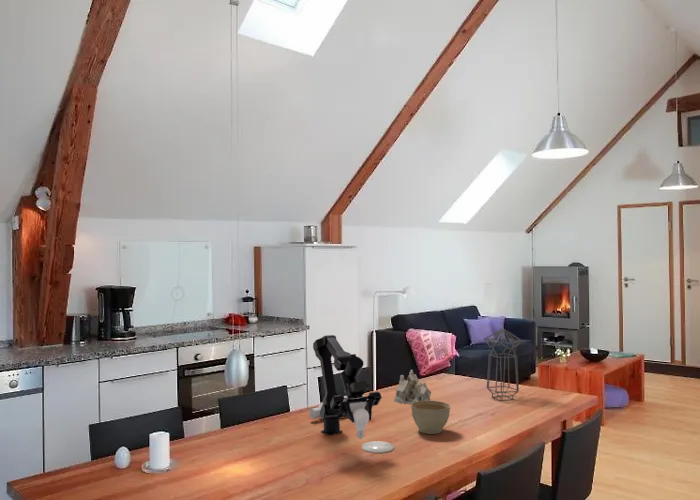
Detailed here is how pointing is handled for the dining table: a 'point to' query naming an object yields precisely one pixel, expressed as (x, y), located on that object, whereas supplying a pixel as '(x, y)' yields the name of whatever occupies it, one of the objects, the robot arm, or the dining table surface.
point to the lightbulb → (360, 421)
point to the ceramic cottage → (411, 390)
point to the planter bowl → (430, 415)
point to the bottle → (353, 406)
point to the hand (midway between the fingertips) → (361, 421)
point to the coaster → (377, 447)
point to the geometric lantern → (504, 361)
